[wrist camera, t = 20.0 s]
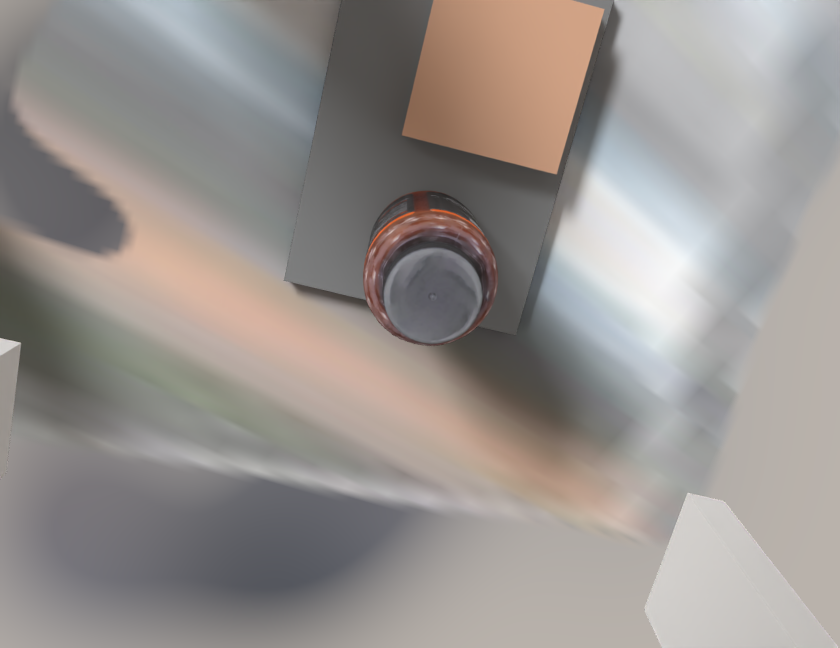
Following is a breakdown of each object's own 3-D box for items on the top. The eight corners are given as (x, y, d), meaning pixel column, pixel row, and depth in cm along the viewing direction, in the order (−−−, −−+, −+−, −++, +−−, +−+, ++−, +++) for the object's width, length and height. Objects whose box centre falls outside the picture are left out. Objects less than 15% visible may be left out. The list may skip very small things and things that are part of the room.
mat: (358, -72, 39) (357, -77, 38) (610, -3, 40) (615, -6, 39) (286, 276, 43) (283, 280, 42) (513, 330, 44) (515, 335, 43)
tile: (441, -36, 37) (604, 9, 37) (440, -30, 38) (597, 12, 39) (401, 135, 39) (556, 174, 40) (402, 134, 40) (551, 171, 41)
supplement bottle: (356, 279, 42) (336, 341, 32) (390, 172, 41) (381, 200, 30) (460, 313, 43) (476, 385, 32) (497, 209, 41) (528, 249, 31)
